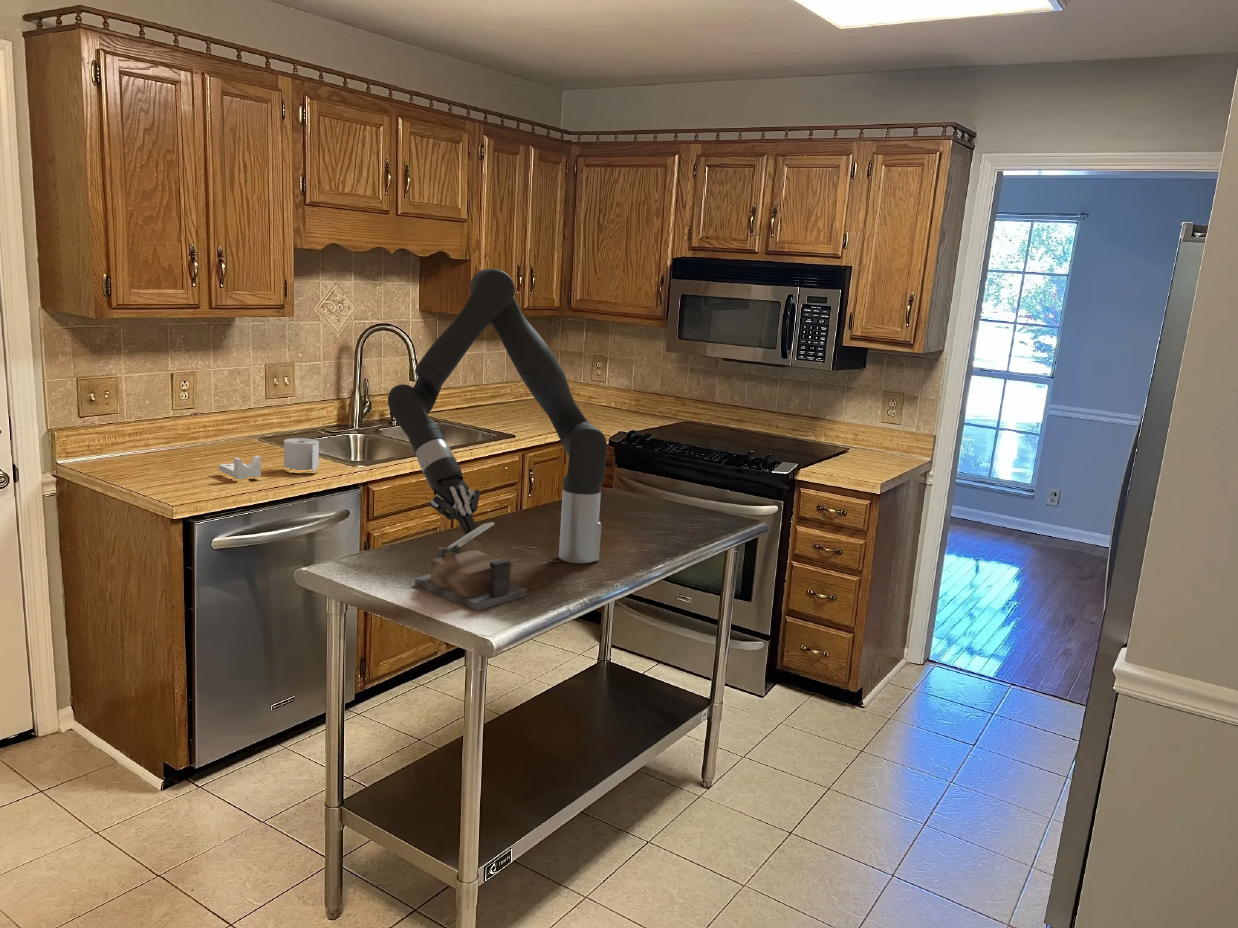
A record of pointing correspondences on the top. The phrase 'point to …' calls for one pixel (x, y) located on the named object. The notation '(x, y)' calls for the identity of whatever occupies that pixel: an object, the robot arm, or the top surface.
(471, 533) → the strap
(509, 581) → the latch block
